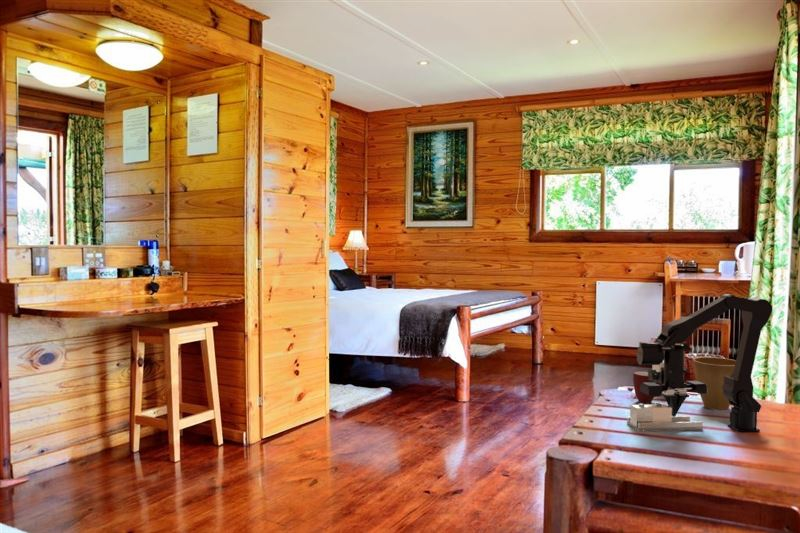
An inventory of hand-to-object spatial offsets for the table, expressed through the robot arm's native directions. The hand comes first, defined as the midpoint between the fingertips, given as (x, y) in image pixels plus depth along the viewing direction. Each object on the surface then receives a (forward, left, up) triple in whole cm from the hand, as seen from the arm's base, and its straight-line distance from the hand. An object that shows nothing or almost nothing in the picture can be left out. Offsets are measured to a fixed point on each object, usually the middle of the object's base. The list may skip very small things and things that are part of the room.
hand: (673, 416), depth 191 cm
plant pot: (-28, -21, -3) cm, 35 cm away
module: (+5, 0, -2) cm, 5 cm away
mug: (-8, -29, -3) cm, 30 cm away
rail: (+3, 0, -3) cm, 4 cm away
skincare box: (-20, -42, -3) cm, 47 cm away
